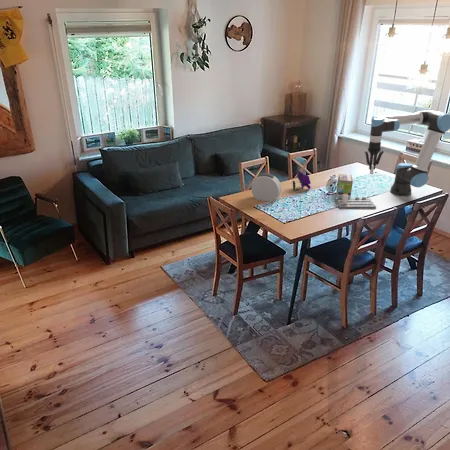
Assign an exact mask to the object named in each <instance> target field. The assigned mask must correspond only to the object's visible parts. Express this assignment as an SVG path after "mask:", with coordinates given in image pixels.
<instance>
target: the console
mask: <svg viewBox="0 0 450 450" xmlns="http://www.w3.org/2000/svg"><path fill="white" fill-rule="evenodd" d="M334 203H335V204H336V206H337V205H338V206H337V207H338V209H340V210H341V209H343V210H346V209H347V210H349V209H351V210H353V209H357V210H358V209H359V210H360V209H363V210H365V209H367V210H368V209H370V210H371V209H377V206H376V205H375V203H374V202H373V201H372V199H371V198H367V196H362V198H360V197H359V196H355V198H350V199H348V201H347V203H343V202H342V199H340V198H334Z"/></svg>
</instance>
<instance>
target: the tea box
mask: <svg viewBox="0 0 450 450" xmlns="http://www.w3.org/2000/svg"><path fill="white" fill-rule="evenodd" d="M337 177H338V179H337V185H336V199H343V194H348V199H351V196H352V191H353V190H352V189H353V183H354V181H353V176H352V174H345V173H344V174H341V173H340V174H338V176H337Z"/></svg>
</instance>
